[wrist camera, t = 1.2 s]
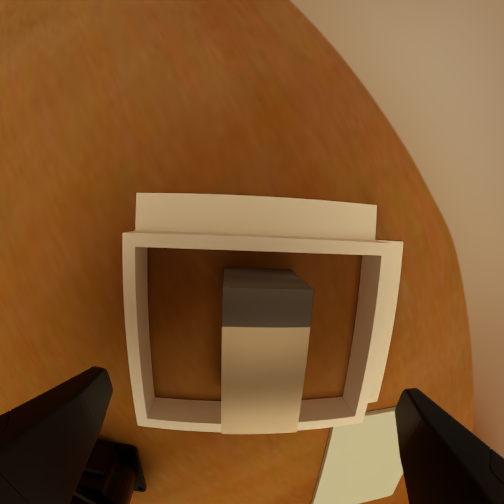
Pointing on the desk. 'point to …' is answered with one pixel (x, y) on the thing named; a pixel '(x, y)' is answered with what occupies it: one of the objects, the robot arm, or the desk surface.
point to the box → (263, 349)
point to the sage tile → (360, 461)
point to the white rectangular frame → (272, 240)
